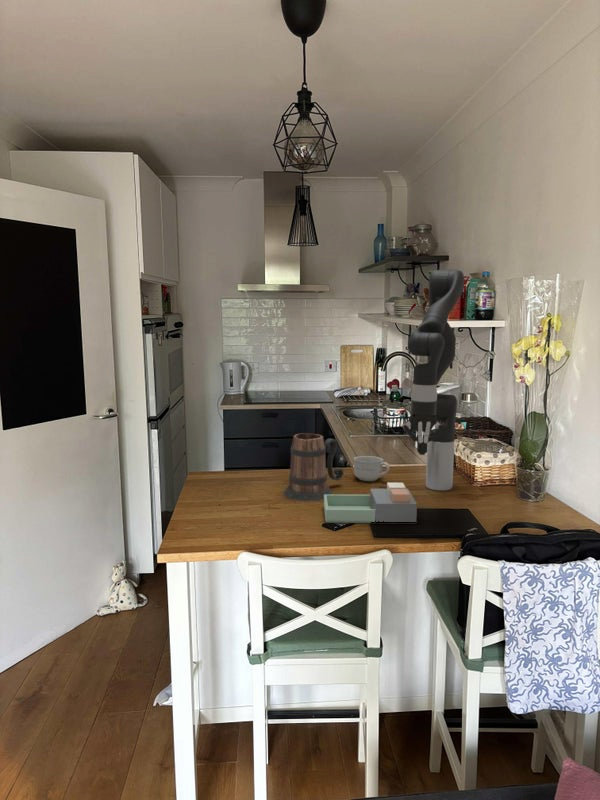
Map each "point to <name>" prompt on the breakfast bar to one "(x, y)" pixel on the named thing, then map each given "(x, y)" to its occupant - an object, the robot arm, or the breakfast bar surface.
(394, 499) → the terracotta tile
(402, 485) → the cream tile
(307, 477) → the tankard
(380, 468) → the teacup
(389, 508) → the grey drawer casing
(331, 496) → the box
